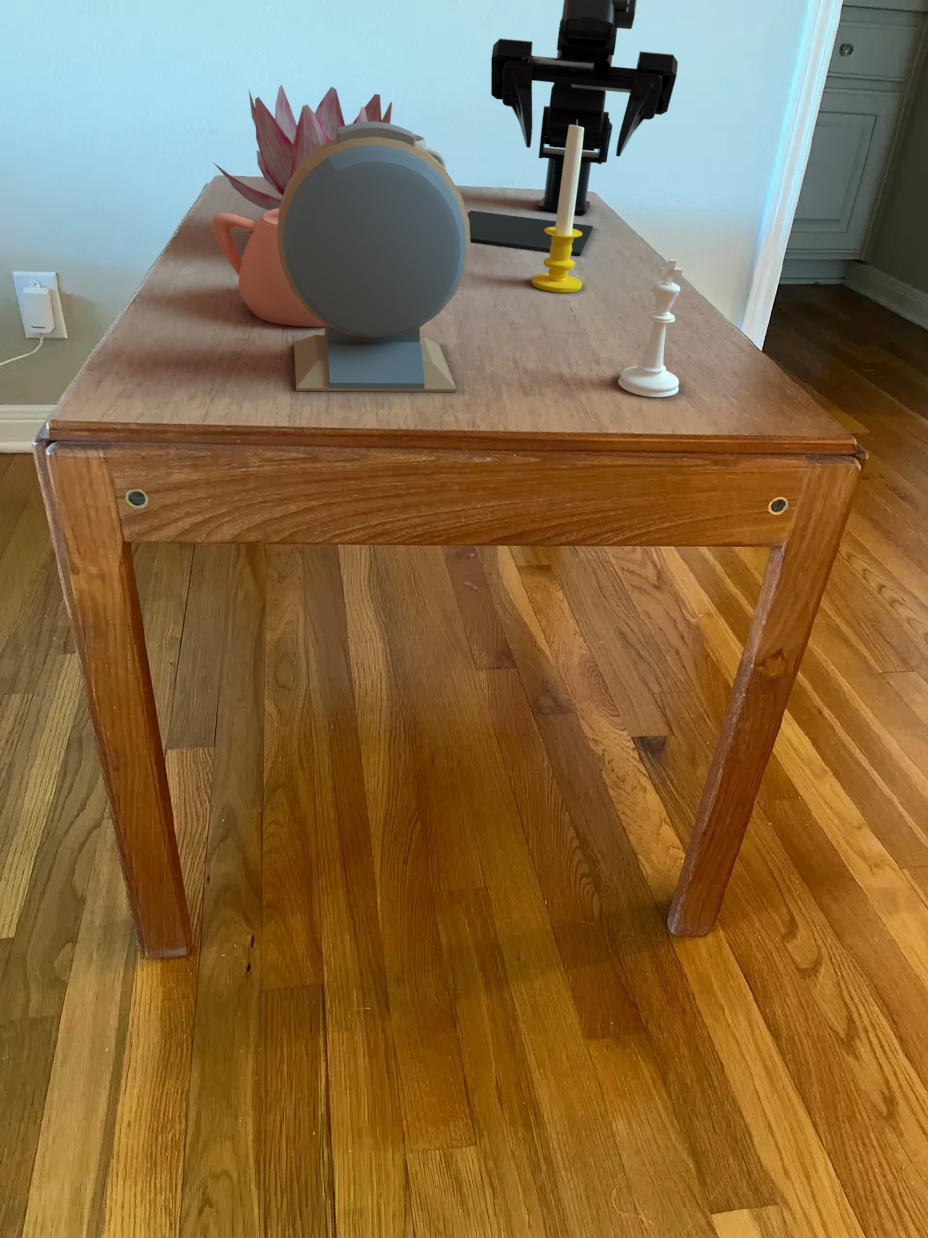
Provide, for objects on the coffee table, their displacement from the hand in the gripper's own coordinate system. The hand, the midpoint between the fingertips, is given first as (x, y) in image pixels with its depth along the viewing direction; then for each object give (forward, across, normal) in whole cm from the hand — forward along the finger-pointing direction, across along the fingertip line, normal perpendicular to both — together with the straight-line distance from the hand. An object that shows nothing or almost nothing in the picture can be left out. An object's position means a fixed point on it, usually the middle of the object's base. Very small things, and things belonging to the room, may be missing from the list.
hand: (573, 149), depth 97 cm
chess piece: (+31, +8, -13) cm, 35 cm away
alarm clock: (+33, -14, -15) cm, 39 cm away
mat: (-2, -5, +19) cm, 20 cm away
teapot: (+24, -22, -6) cm, 33 cm away
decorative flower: (+10, -26, +8) cm, 29 cm away
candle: (+12, 0, +5) cm, 13 cm away
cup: (-8, -21, +26) cm, 34 cm away
